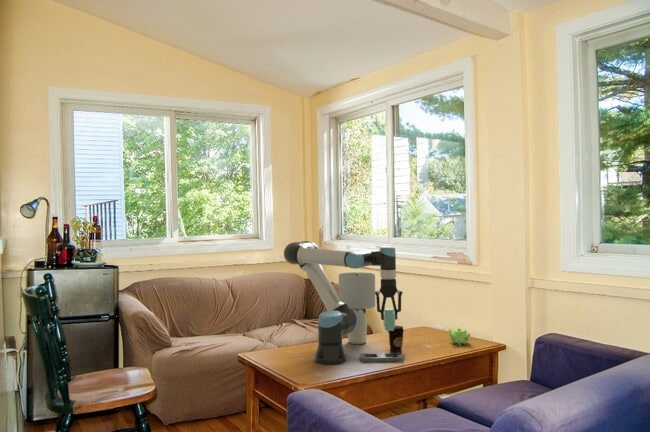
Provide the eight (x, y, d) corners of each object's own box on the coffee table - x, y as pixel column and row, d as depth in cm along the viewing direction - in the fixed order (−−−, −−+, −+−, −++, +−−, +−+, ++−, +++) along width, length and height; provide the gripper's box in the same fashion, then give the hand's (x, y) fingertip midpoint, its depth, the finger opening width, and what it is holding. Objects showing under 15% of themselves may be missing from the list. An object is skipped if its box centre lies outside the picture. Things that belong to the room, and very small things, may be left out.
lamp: (331, 342, 290) (331, 273, 290) (356, 336, 304) (356, 270, 304) (357, 349, 275) (357, 275, 275) (383, 342, 289) (382, 272, 289)
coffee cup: (407, 351, 269) (407, 326, 269) (398, 354, 263) (398, 329, 263) (393, 348, 275) (393, 324, 275) (384, 351, 269) (384, 326, 269)
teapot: (469, 341, 290) (469, 326, 290) (470, 346, 279) (470, 331, 279) (448, 340, 292) (448, 325, 292) (449, 345, 281) (449, 330, 281)
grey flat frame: (362, 362, 250) (361, 358, 250) (360, 357, 259) (359, 353, 259) (403, 361, 251) (403, 357, 251) (399, 356, 260) (399, 352, 260)
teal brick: (385, 330, 250) (385, 310, 250) (384, 329, 254) (384, 308, 254) (394, 330, 250) (393, 309, 250) (393, 328, 254) (392, 308, 254)
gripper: (371, 279, 248) (372, 328, 248) (407, 278, 248) (408, 327, 248) (370, 277, 256) (371, 325, 256) (404, 277, 256) (405, 324, 255)
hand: (389, 326), depth 252 cm, fingers closed on teal brick, 4 cm apart
